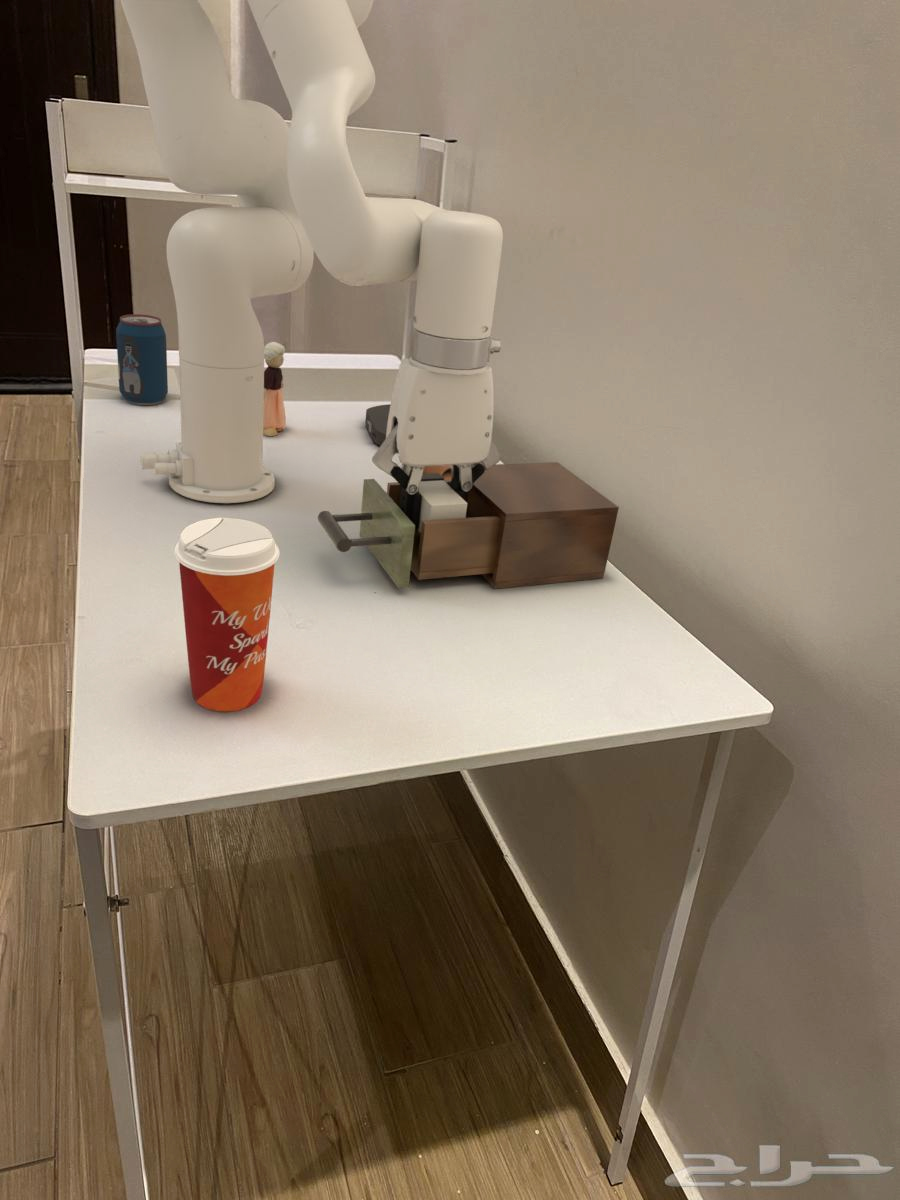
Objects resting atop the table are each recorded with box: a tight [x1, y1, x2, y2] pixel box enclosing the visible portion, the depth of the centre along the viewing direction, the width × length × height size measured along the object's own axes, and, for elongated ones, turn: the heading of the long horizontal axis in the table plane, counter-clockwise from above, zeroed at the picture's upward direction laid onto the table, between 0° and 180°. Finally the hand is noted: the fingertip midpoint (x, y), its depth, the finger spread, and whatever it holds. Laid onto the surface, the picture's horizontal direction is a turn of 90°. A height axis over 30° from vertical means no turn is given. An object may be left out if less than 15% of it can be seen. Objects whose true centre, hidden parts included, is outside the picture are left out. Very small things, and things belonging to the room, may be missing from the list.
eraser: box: [400, 473, 467, 533], centre depth 96 cm, size 8×4×4 cm, turn 23°
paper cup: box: [173, 517, 281, 712], centre depth 71 cm, size 8×8×14 cm
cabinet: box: [471, 461, 620, 590], centre depth 102 cm, size 14×14×9 cm
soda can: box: [115, 313, 169, 406], centre depth 135 cm, size 7×7×12 cm
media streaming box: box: [364, 403, 391, 446], centre depth 137 cm, size 15×15×3 cm
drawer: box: [317, 478, 502, 589], centre depth 96 cm, size 18×12×7 cm
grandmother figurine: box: [263, 341, 287, 437], centre depth 129 cm, size 8×4×13 cm, turn 179°
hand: (431, 521), depth 97 cm, fingers closed on eraser, 4 cm apart
